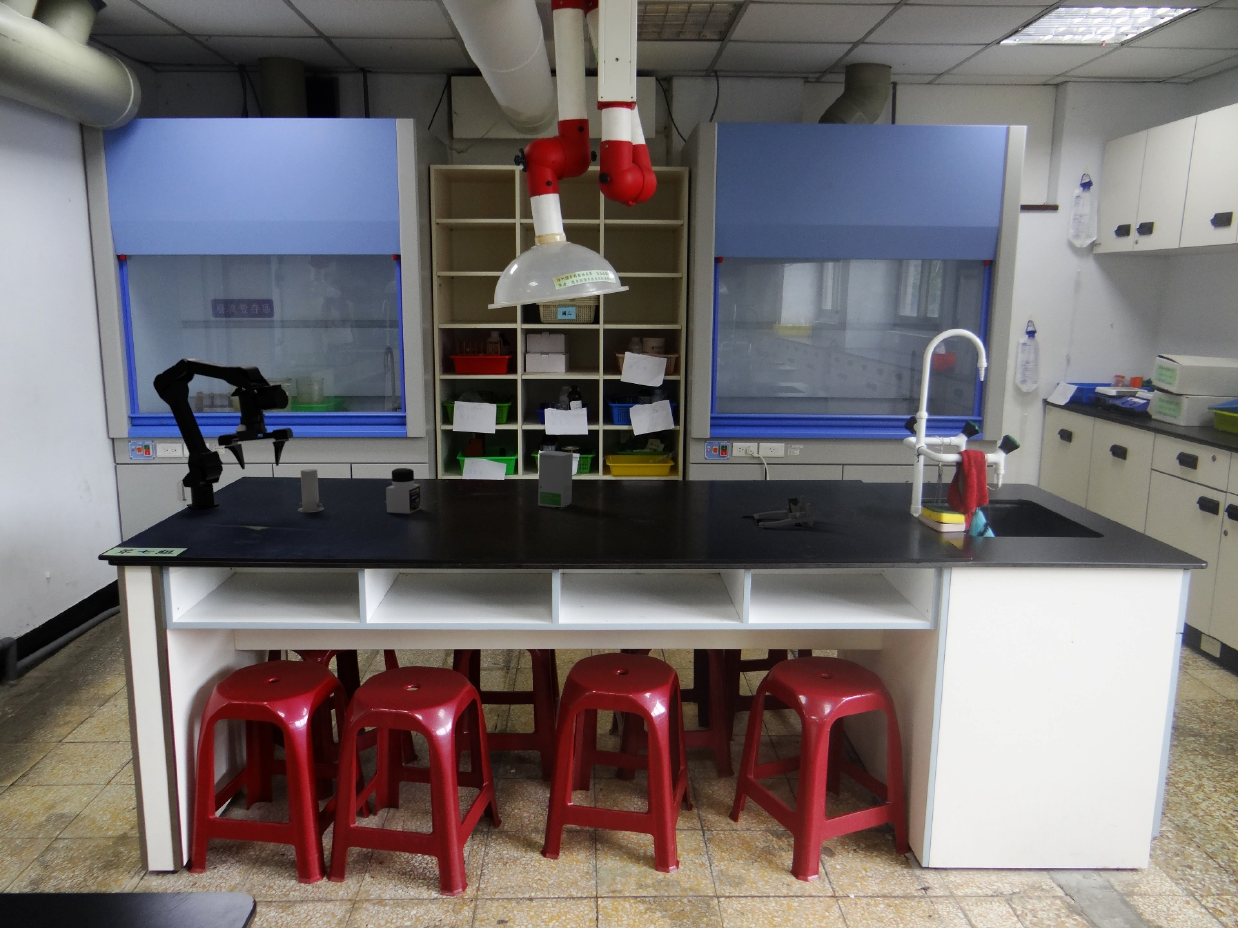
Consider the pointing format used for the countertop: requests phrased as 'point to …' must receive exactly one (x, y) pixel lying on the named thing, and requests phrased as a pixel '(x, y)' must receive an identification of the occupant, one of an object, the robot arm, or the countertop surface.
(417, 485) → the medicine bottle
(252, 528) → the mat
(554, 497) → the skincare box
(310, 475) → the grey rounded post
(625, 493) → the countertop surface
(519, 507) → the countertop surface
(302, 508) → the grey shallow disc
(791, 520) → the bike brake
